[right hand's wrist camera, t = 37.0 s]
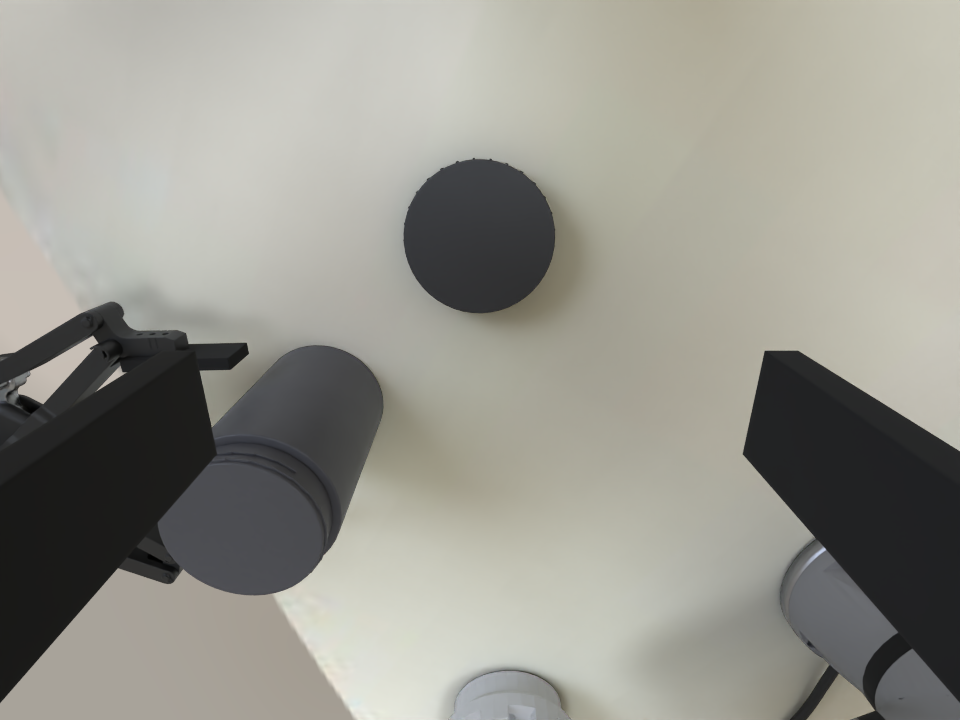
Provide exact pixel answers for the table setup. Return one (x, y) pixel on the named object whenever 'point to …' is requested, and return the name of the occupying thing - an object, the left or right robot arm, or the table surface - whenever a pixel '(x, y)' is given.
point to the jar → (278, 475)
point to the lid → (479, 236)
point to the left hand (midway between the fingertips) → (259, 450)
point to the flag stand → (508, 698)
